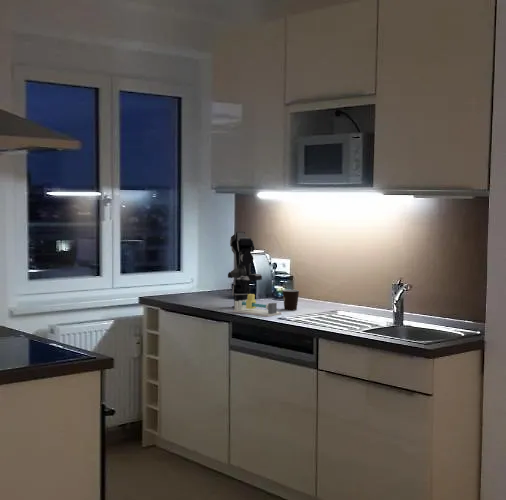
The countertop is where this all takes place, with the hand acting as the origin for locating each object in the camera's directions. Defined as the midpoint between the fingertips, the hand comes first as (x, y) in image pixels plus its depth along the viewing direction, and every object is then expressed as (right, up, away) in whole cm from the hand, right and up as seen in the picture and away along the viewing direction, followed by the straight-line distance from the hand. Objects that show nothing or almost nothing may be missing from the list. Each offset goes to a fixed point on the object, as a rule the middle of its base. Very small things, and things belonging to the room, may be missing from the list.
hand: (244, 292), depth 412 cm
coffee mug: (+24, -9, +10) cm, 28 cm away
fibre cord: (+6, -10, -5) cm, 13 cm away
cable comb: (+6, -10, -5) cm, 13 cm away
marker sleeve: (+3, -8, -3) cm, 9 cm away
